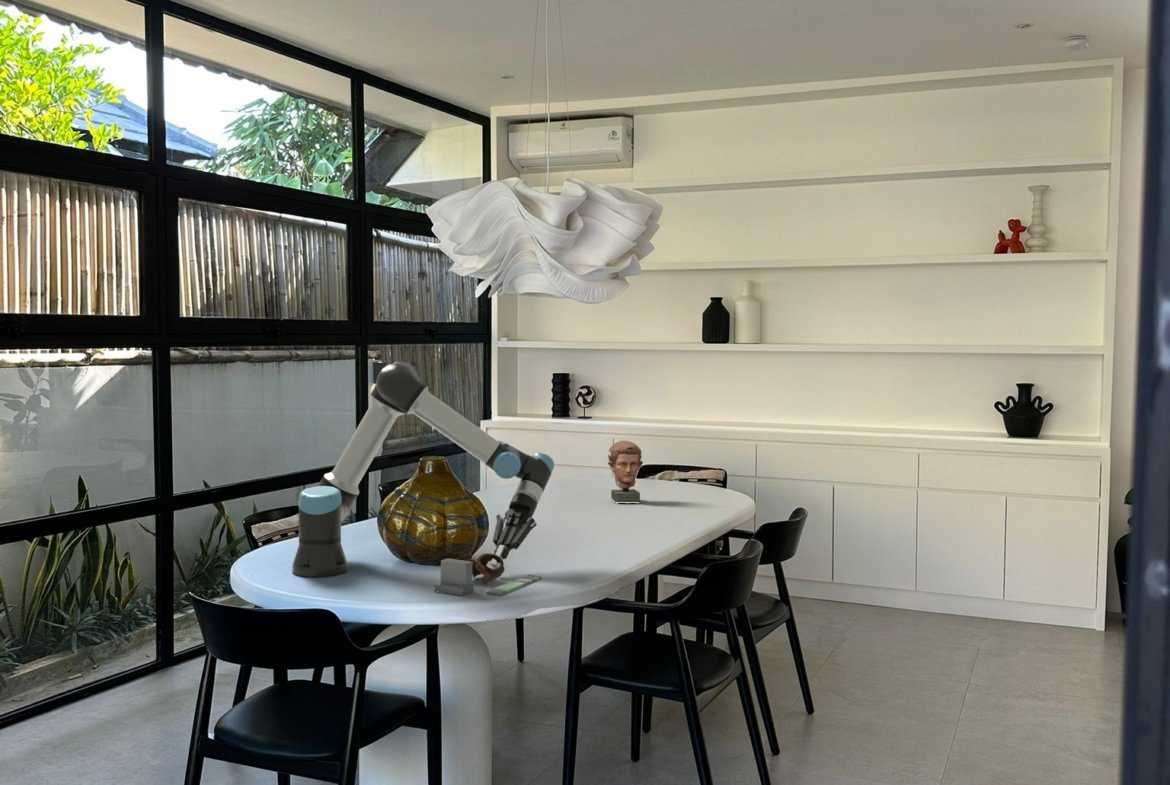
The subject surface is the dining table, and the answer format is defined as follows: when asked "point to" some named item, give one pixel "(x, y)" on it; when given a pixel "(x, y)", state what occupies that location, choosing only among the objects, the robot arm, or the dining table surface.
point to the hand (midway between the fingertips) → (494, 566)
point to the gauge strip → (513, 585)
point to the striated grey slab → (455, 577)
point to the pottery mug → (481, 567)
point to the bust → (625, 470)
